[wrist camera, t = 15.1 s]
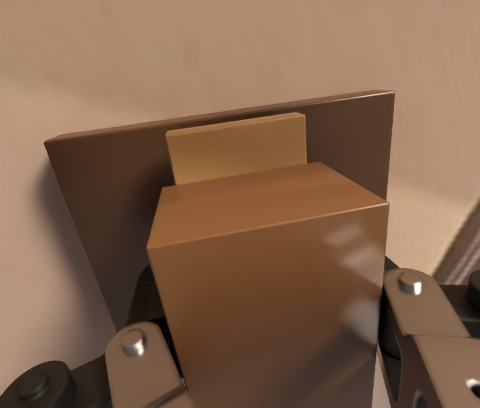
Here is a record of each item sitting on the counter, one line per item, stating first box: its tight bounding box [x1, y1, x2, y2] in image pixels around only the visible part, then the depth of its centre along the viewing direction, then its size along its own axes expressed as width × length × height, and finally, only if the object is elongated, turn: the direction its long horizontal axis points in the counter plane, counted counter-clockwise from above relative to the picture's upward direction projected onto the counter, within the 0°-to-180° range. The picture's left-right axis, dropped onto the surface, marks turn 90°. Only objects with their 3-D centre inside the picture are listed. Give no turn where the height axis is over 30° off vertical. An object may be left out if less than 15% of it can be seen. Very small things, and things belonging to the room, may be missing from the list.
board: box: [44, 90, 395, 332], centre depth 13 cm, size 13×10×2 cm
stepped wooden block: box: [146, 112, 389, 408], centre depth 10 cm, size 10×5×5 cm, turn 7°
